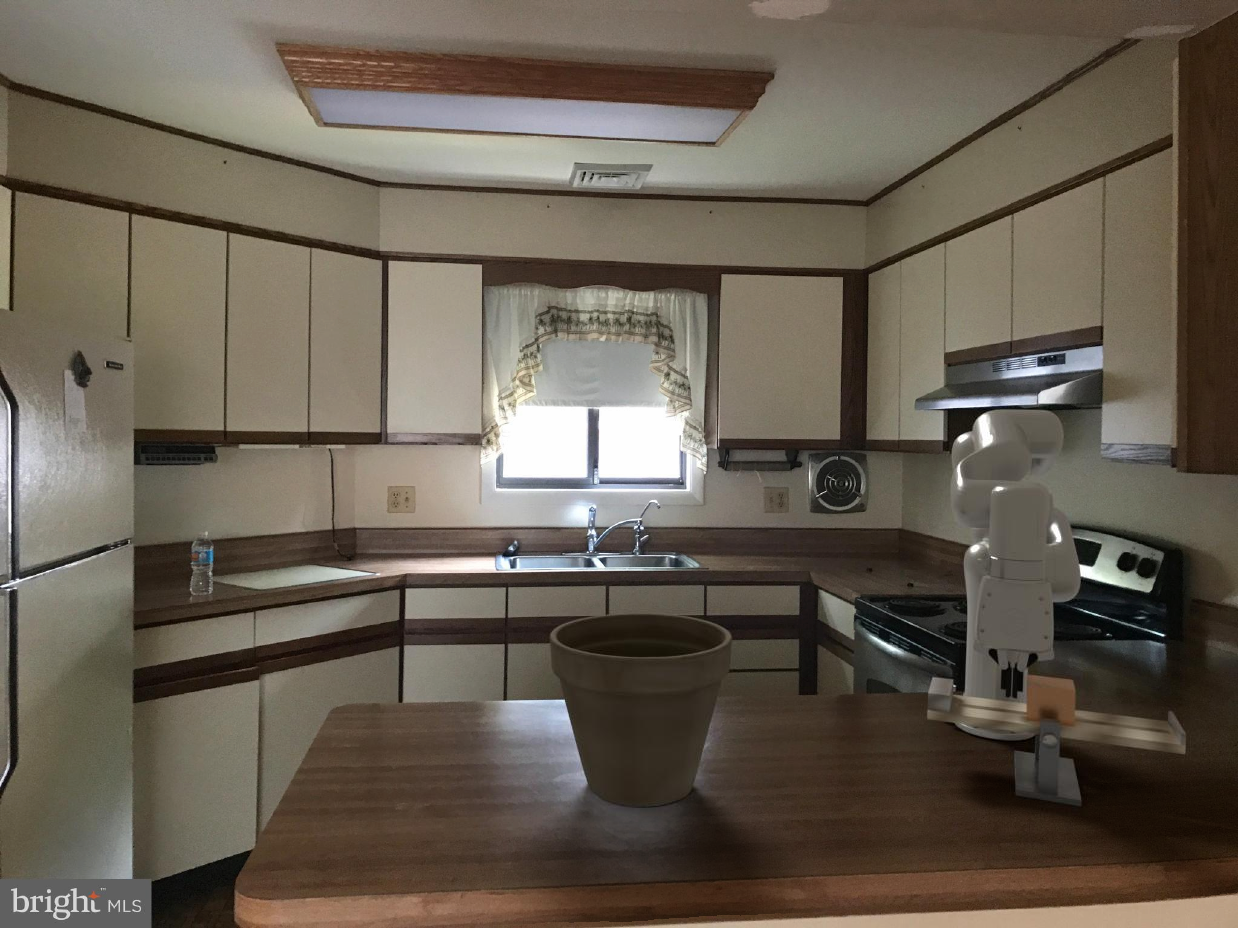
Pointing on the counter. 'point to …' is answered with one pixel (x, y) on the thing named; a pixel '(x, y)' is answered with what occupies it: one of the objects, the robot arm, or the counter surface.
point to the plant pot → (640, 700)
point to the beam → (1086, 725)
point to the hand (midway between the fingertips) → (1011, 695)
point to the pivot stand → (1047, 769)
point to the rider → (1050, 699)
